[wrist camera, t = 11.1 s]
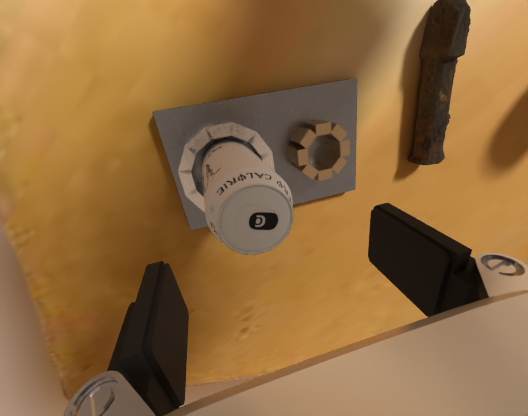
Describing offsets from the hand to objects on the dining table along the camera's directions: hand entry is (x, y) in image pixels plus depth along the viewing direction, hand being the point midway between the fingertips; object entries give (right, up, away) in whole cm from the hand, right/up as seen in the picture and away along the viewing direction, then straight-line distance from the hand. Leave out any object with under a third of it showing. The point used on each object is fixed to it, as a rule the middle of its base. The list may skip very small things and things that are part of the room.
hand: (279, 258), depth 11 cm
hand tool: (+20, +18, +22) cm, 35 cm away
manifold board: (0, +9, +20) cm, 21 cm away
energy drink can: (-5, +7, +17) cm, 20 cm away
